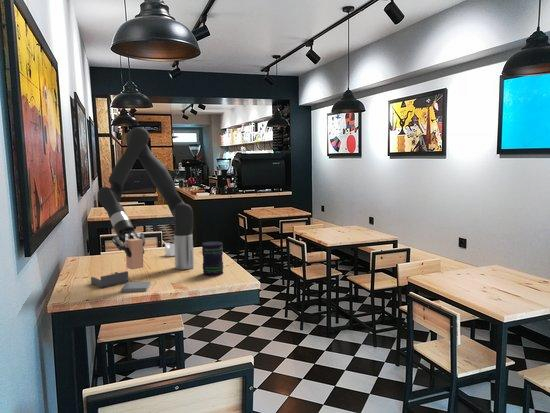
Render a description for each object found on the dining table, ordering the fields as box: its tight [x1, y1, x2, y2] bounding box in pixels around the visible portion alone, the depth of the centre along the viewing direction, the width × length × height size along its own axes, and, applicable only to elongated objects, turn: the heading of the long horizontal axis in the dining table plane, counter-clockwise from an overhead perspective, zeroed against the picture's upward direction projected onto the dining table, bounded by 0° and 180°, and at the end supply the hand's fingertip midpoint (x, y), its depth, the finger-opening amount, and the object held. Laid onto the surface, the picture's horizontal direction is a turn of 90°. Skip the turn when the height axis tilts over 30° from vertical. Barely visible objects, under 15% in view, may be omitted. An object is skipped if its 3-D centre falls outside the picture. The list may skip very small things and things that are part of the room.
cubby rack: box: [90, 271, 129, 289], centre depth 183 cm, size 11×12×5 cm
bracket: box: [164, 242, 175, 257], centre depth 242 cm, size 13×7×8 cm, turn 131°
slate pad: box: [120, 280, 151, 293], centre depth 174 cm, size 10×10×2 cm
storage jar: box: [201, 240, 224, 277], centre depth 196 cm, size 10×10×15 cm
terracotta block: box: [125, 237, 144, 271], centre depth 173 cm, size 5×5×12 cm
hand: (136, 255), depth 172 cm, fingers closed on terracotta block, 5 cm apart
